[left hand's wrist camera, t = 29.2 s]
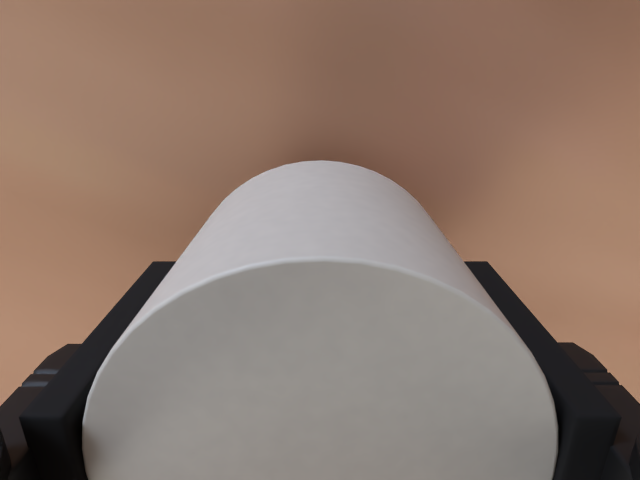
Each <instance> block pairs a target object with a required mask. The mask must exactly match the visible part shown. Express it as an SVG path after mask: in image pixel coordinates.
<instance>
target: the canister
mask: <svg viewBox="0 0 640 480" xmlns="http://www.w3.org/2000/svg"><path fill="white" fill-rule="evenodd" d="M82 452H83V459H84V465H85V472H86V475H87V478H88V480H552V479H553V476H554V472H555V467H556V461H557V455H558V422H557V416H556V410H555V405H554V400H553V397H552V394H551V391H550V389H549V386H548V383H547V380H546V378H545V375H544V374H543V372H542V370H541V368H540V367H539V365H538V363H537V361H536V360H535V358H534V356H533V354H532V353H531V351H530V350H529V348H528V347H527V346H526V344H525V343H524V342H523V340H522V339H521V338H520V336H519V335H518V334H517V332H516V331H515V330H514V328H513V327H512V326H511V324H510V323H509V322H508V320H507V319H506V318H505V316H504V315H503V314H502V312H501V311H500V310H499V308H498V307H497V306H496V304H495V303H494V302H493V300H492V299H491V297H490V296H489V295H488V293H487V292H486V291H485V289H484V288H483V287H482V285H481V284H480V283H479V281H478V280H477V279H476V277H475V276H474V275H473V273H472V272H471V271H470V269H469V268H468V267H467V265H466V264H465V263H464V261H463V260H462V259H461V257H460V256H459V255H458V253H457V252H456V251H455V249H454V248H453V247H452V245H451V244H450V243H449V241H448V240H447V238H446V237H445V236H444V234H443V233H442V232H441V230H440V229H439V228H438V226H437V225H436V224H435V222H434V221H433V220H432V218H431V217H430V216H429V214H428V213H427V212H426V211H425V209H424V208H423V207H422V206H421V204H420V203H419V202H418V201H417V200H416V199H415V198H414V197H413V196H412V195H411V194H409V193H408V192H407V191H406V190H405V189H404V188H402V187H401V186H399V185H398V184H396V183H395V182H394V181H392V180H391V179H389V178H387V177H385V176H383V175H381V174H379V173H377V172H375V171H372V170H369V169H366V168H364V167H361V166H358V165H353V164H348V163H343V162H336V161H323V160H320V161H303V162H297V163H292V164H287V165H283V166H280V167H277V168H274V169H271V170H268V171H266V172H264V173H262V174H259V175H257V176H255V177H253V178H251V179H250V180H248V181H247V182H245V183H244V184H242V185H241V186H239V187H238V188H236V189H235V190H234V191H233V192H232V193H231V194H230V195H229V196H227V197H226V198H225V199H224V200H223V201H222V203H221V204H220V205H219V206H218V207H217V208H216V210H215V211H214V212H213V213H212V215H211V216H210V217H209V219H208V220H207V221H206V223H205V224H204V225H203V227H202V228H201V229H200V231H199V232H198V233H197V235H196V236H195V237H194V239H193V240H192V241H191V243H190V244H189V245H188V247H187V248H186V249H185V251H184V252H183V253H182V255H181V256H180V258H179V259H178V260H177V262H176V263H175V264H174V266H173V267H172V268H171V270H170V271H169V272H168V274H167V275H166V276H165V278H164V279H163V280H162V282H161V283H160V284H159V286H158V287H157V288H156V290H155V291H154V292H153V294H152V295H151V296H150V298H149V299H148V300H147V302H146V303H145V304H144V306H143V307H142V308H141V310H140V311H139V312H138V314H137V315H136V317H135V318H134V319H133V321H132V322H131V323H130V325H129V326H128V327H127V329H126V330H125V331H124V333H123V334H122V335H121V337H120V338H119V339H118V341H117V342H116V343H115V345H114V346H113V347H112V349H111V350H110V352H109V354H108V355H107V357H106V359H105V360H104V362H103V364H102V365H101V367H100V368H99V370H98V372H97V374H96V377H95V379H94V382H93V384H92V387H91V389H90V392H89V394H88V397H87V402H86V407H85V412H84V417H83V423H82Z"/></svg>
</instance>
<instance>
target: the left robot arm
mask: <svg viewBox="0 0 640 480" xmlns="http://www.w3.org/2000/svg"><path fill="white" fill-rule="evenodd" d="M175 263H176V262H152V264H151V265H150V266H149V267H148V268H147V269H146V270H145V272H144V273H143V274H142V275H141V276H140V277H139V279H138V280H137V281H136V282H135V283H134V284H133V285H132V287H131V288H130V289H129V290H128V291H127V292H126V294H125V295H124V296H123V297H122V298H121V299H120V300H119V302H118V303H117V304H116V305H115V306H114V307H113V309H112V310H111V311H110V312H109V313H108V314H107V315H106V317H105V318H104V319H103V320H102V321H101V322H100V324H99V325H98V326H97V327H96V328H95V329H94V330H93V332H92V333H91V334H90V335H89V336H88V337H87V339H86V340H85V341H84V342H83V343H82V344H67V345H65V346H64V347H62V348H61V349H59V350H57V351H56V352H54V353H52V354H51V355H49V356H48V357H47V358H46V359H45V360H44V361H43V362H42V363H41V364H40V365H39V366H38V367H37V368H36V369H35V370H34V373H33V374H31V375H30V376H29V377H28V378H27V379H26V380H25V381H24V382H23V383H22V386H21V387H18V388H17V389H16V390H15V391H14V393H13V394H12V395H11V396H10V397H9V398H8V399H7V400H6V401H5V402H4V403H3V404H2V405H1V406H0V480H88V478H87V475H86V472H85V465H84V459H83V452H82V423H83V417H84V412H85V407H86V402H87V397H88V394H89V392H90V389H91V387H92V384H93V382H94V379H95V377H96V374H97V372H98V370H99V368H100V367H101V365H102V364H103V362H104V360H105V359H106V357H107V355H108V354H109V352H110V350H111V349H112V347H113V346H114V345H115V343H116V342H117V341H118V339H119V338H120V337H121V335H122V334H123V333H124V331H125V330H126V329H127V327H128V326H129V325H130V323H131V322H132V321H133V319H134V318H135V317H136V315H137V314H138V312H139V311H140V310H141V308H142V307H143V306H144V304H145V303H146V302H147V300H148V299H149V298H150V296H151V295H152V294H153V292H154V291H155V290H156V288H157V287H158V286H159V284H160V283H161V282H162V280H163V279H164V278H165V276H166V275H167V274H168V272H169V271H170V270H171V268H172V267H173V266H174V264H175ZM464 263H465V264H466V265H467V267H468V268H469V269H470V271H471V272H472V273H473V275H474V276H475V277H476V279H477V280H478V281H479V283H480V284H481V285H482V287H483V288H484V289H485V291H486V292H487V293H488V295H489V296H490V297H491V299H492V300H493V302H494V303H495V304H496V306H497V307H498V308H499V310H500V311H501V312H502V314H503V315H504V316H505V318H506V319H507V320H508V322H509V323H510V324H511V326H512V327H513V328H514V330H515V331H516V332H517V334H518V335H519V336H520V338H521V339H522V340H523V342H524V343H525V344H526V346H527V347H528V348H529V350H530V351H531V353H532V354H533V356H534V358H535V360H536V361H537V363H538V365H539V367H540V368H541V370H542V372H543V374H544V375H545V378H546V380H547V383H548V386H549V389H550V391H551V394H552V397H553V400H554V405H555V410H556V416H557V422H558V455H557V461H556V467H555V472H554V476H553V479H552V480H640V404H639V403H638V402H637V401H636V400H635V398H634V397H633V396H632V395H631V394H630V393H629V392H628V391H627V390H626V389H625V388H624V387H623V386H622V385H619V382H618V381H617V380H616V379H615V377H614V376H613V375H612V374H611V373H608V372H607V369H606V368H605V367H604V366H603V365H602V364H601V363H600V362H599V361H598V360H597V359H596V358H595V357H594V355H592V354H591V353H589V352H587V351H586V350H584V349H582V348H581V347H579V346H578V345H576V344H574V343H557V342H556V340H555V339H554V338H553V337H552V336H551V335H550V334H549V332H548V331H547V330H546V329H545V328H544V327H543V325H542V324H541V323H540V322H539V321H538V320H537V319H536V317H535V316H534V315H533V314H532V313H531V312H530V310H529V309H528V308H527V307H526V306H525V305H524V304H523V302H522V301H521V300H520V299H519V298H518V297H517V295H516V294H515V293H514V292H513V291H512V290H511V289H510V287H509V286H508V285H507V284H506V283H505V282H504V280H503V279H502V278H501V277H500V276H499V275H498V274H497V272H496V271H495V270H494V269H493V268H492V267H491V265H490V264H489V263H488V262H464Z"/></svg>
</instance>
